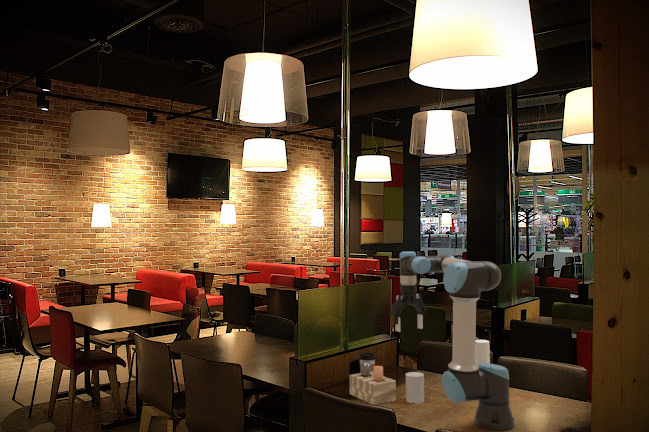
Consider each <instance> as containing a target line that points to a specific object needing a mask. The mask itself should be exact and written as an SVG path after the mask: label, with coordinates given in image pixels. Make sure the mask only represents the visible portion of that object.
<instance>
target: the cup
mask: <svg viewBox="0 0 649 432" xmlns="http://www.w3.org/2000/svg"><path fill="white" fill-rule="evenodd" d="M405 401H407V402H406V403H408V402H409V404H411V403H415V404H414V405H421V404H423V402H424V403H425V374H424V373H423V372H418V371H410V372H406V373H405ZM420 403H421V404H420Z"/></svg>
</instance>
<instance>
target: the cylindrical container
mask: <svg viewBox="0 0 649 432" xmlns="http://www.w3.org/2000/svg"><path fill="white" fill-rule="evenodd" d="M490 350H491V349H490V341H489V340H487V339H475V363H476V364H477V365H478V364H480V363H489V364H491V355H490V353H491V352H490Z"/></svg>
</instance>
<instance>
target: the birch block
mask: <svg viewBox="0 0 649 432" xmlns="http://www.w3.org/2000/svg"><path fill="white" fill-rule="evenodd" d="M348 378H349V379H348V381H349V395H351V396H353V397H355V398H357V399H360V400H362V401H364V402H366V403H369V404H370V405H373V404H374V405H373V406H376V405H377V404H378V405H381V404H380V403H383V404H385V403H384V402H388V403H390V402H389V401H392V402H395V401H394V400H396V401H397V389H396V388H397V383H396V380H395V379H392V378H389V377H387V376H384V375H383V381H382V382H375V381H374V375H373V372H371V376H370V377H362V376H361V372H359V373H353V374H349V377H348ZM378 405H377V406H378Z"/></svg>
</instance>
